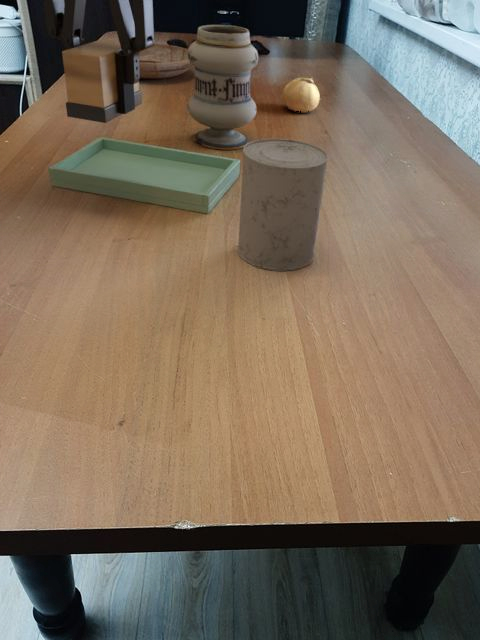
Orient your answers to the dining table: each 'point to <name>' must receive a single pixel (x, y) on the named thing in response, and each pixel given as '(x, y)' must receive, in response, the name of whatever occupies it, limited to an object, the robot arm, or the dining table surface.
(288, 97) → the onion
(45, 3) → the robot arm
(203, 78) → the apothecary jar
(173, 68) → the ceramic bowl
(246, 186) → the grey cylinder
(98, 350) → the dining table surface
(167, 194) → the tray
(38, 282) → the dining table surface
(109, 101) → the eraser
